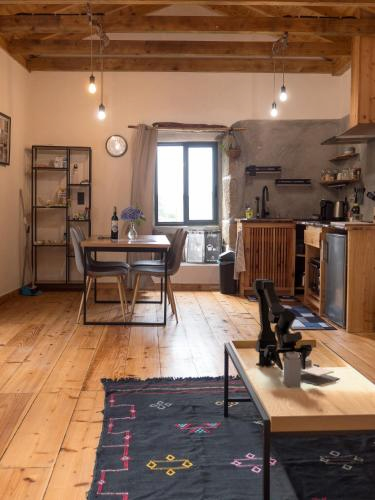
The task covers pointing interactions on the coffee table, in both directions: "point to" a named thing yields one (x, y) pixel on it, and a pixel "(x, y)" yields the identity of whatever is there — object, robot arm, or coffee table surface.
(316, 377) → the stand
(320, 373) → the trapdoor flap
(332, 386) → the coffee table surface
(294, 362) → the stone pillar
